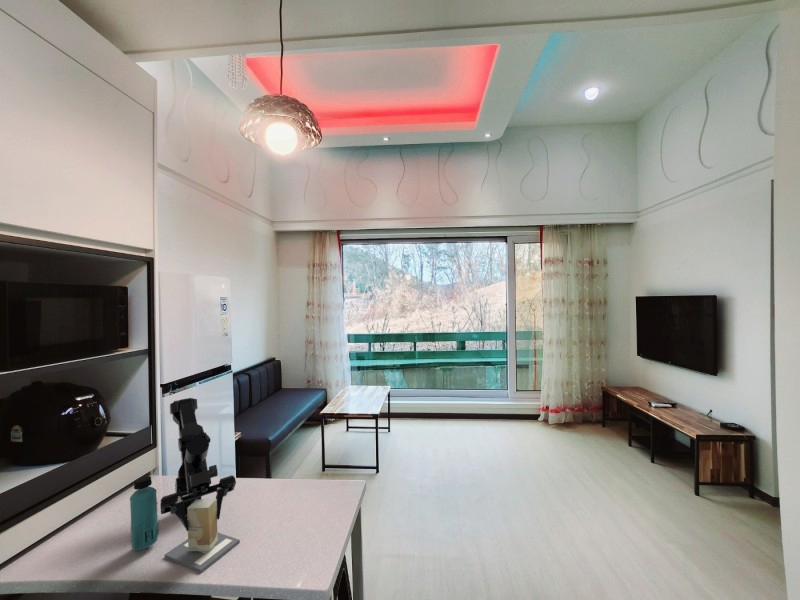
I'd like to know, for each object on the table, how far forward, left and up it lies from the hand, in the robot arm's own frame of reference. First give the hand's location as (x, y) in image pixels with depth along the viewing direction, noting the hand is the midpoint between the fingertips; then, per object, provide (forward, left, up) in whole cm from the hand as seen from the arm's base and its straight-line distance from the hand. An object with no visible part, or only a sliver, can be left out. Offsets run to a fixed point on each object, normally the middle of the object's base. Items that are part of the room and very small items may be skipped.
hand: (203, 524), depth 96 cm
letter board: (-2, +1, -8) cm, 9 cm away
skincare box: (-1, +1, -7) cm, 7 cm away
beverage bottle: (-19, -4, -8) cm, 21 cm away
